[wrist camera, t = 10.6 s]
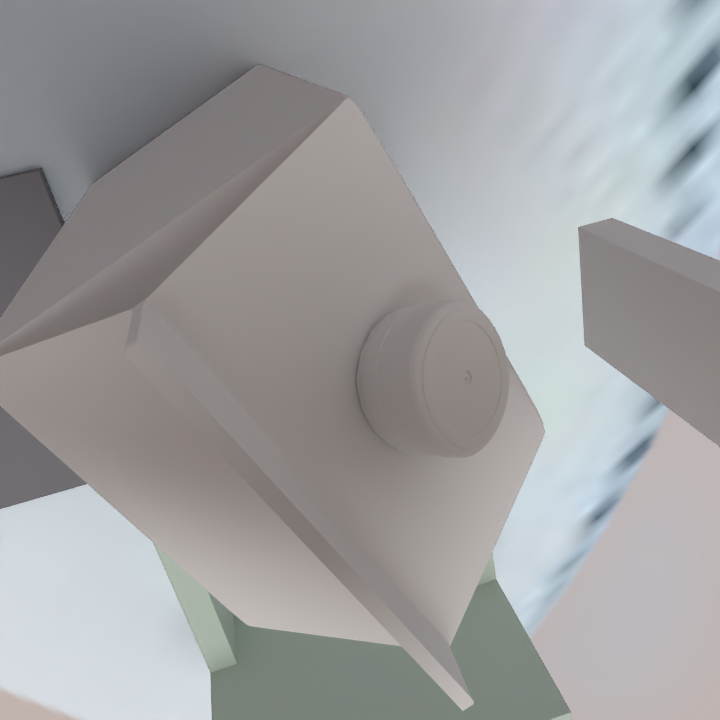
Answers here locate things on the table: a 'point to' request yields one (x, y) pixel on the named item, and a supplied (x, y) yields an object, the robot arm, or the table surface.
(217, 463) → the milk carton
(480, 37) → the table surface
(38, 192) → the mat
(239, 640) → the rack
